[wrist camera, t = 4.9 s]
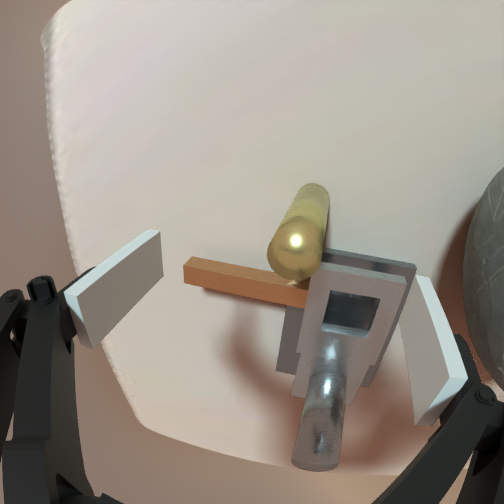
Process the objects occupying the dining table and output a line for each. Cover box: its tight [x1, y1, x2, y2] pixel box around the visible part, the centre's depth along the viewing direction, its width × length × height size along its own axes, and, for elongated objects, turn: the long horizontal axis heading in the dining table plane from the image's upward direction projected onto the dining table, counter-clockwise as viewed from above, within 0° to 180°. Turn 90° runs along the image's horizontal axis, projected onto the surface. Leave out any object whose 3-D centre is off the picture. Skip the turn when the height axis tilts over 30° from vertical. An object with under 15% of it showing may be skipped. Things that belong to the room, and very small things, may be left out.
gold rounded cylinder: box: [267, 183, 329, 281], centre depth 22 cm, size 3×3×12 cm
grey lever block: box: [183, 248, 417, 472], centre depth 26 cm, size 18×22×15 cm
